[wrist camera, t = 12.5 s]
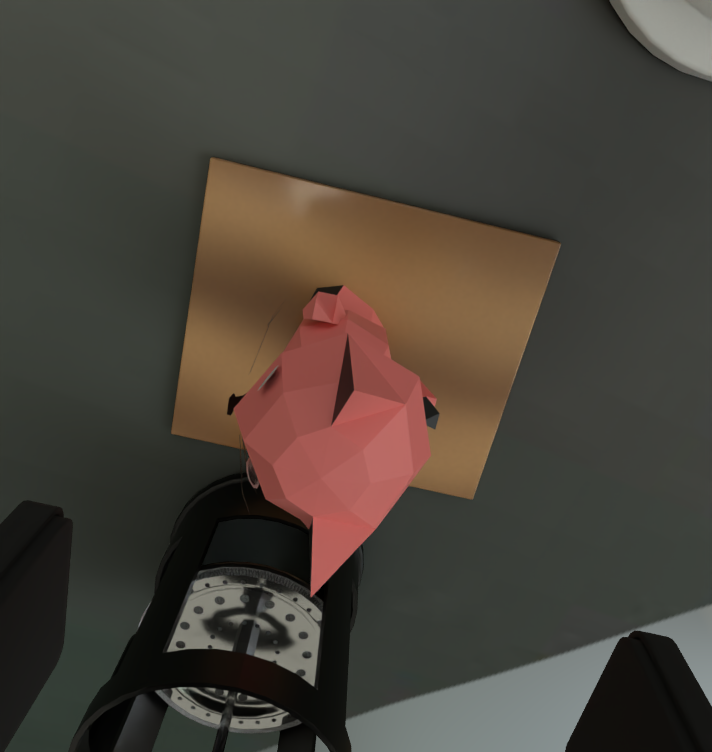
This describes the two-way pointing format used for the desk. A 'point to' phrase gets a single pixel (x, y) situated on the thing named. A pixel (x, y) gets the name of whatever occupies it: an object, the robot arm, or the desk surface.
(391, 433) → the cat figurine
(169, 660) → the french press
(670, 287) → the desk surface
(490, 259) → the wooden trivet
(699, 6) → the robot arm
